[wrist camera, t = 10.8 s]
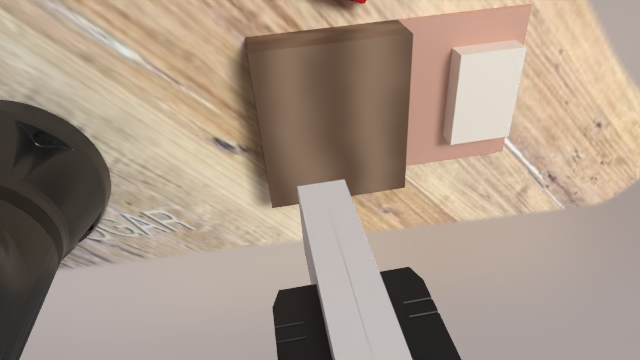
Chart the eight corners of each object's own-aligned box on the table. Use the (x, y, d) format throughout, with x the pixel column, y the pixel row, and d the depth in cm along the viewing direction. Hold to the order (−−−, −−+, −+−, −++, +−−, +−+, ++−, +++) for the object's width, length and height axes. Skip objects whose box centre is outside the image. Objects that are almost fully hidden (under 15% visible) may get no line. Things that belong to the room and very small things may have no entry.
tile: (508, 136, 44) (498, 126, 46) (526, 46, 39) (514, 39, 40) (450, 144, 43) (442, 135, 45) (461, 55, 38) (452, 47, 40)
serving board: (269, 184, 45) (272, 208, 42) (245, 37, 37) (247, 53, 34) (392, 165, 47) (404, 187, 43) (397, 19, 38) (413, 33, 35)
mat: (392, 165, 47) (393, 167, 46) (397, 19, 38) (398, 21, 38) (500, 149, 48) (502, 151, 48) (529, 4, 39) (531, 5, 39)
